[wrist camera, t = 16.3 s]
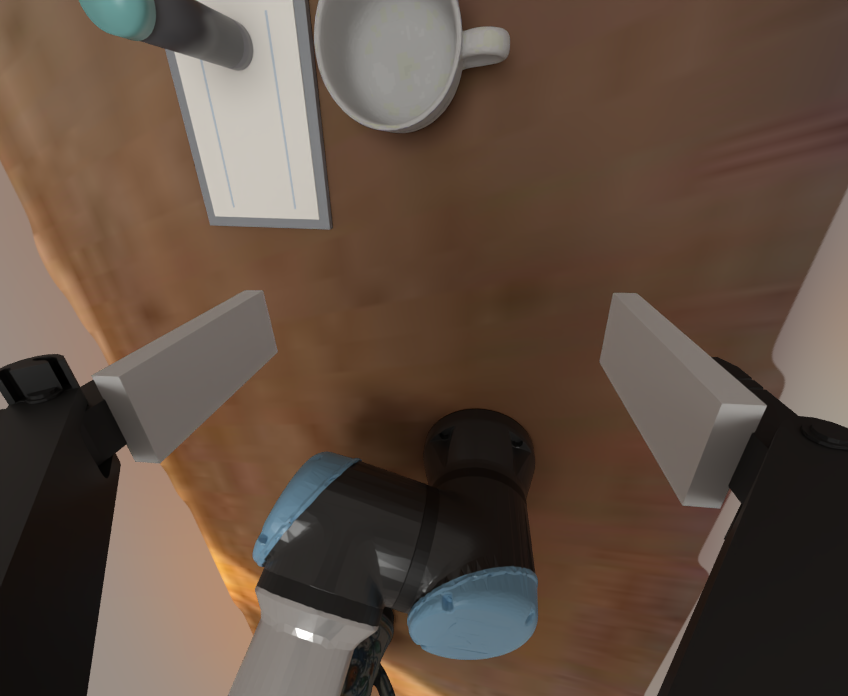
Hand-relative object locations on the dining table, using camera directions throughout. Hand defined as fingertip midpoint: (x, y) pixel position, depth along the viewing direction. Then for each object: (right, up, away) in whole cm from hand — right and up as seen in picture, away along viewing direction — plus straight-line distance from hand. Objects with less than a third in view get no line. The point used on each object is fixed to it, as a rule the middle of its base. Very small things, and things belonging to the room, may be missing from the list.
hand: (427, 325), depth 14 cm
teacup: (0, +24, +19) cm, 30 cm away
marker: (-17, +26, +19) cm, 37 cm away
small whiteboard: (-17, +22, +22) cm, 35 cm away
